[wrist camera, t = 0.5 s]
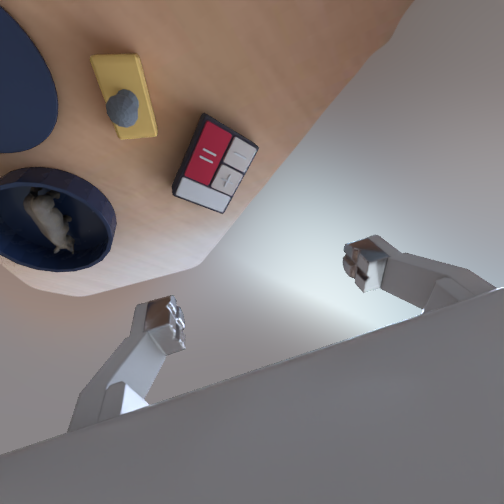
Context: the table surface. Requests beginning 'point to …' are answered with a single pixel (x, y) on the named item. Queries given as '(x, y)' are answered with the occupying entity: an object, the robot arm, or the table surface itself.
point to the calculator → (213, 165)
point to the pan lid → (23, 90)
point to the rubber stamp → (125, 94)
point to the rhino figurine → (49, 218)
